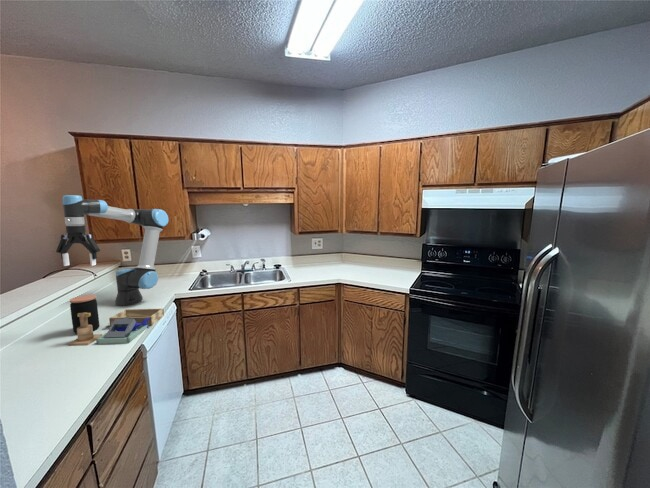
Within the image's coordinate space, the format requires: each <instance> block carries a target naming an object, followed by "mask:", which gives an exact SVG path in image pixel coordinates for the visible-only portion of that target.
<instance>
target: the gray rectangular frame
mask: <svg viewBox="0 0 650 488" xmlns="http://www.w3.org/2000/svg"><path fill="white" fill-rule="evenodd" d="M135 323H136V321H135V320H134V319H130V318H129V317H125V318H124V319H115V320H114V322H113V324H112V325H111V327H110V326H109V328H108V331H107V332H106V333H107V334H106V333H105V334H106V336H105V338H128V337H129V335H130V333H131V331H132V329H133V327H134V325H135ZM117 327H127V328H126V330H125V331H115V330H116V329H117Z"/></svg>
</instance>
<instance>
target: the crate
mask: <svg viewBox="0 0 650 488" xmlns="http://www.w3.org/2000/svg"><path fill="white" fill-rule="evenodd" d="M164 310H165V309H164V308H137V309H136V308H135V309H134V308H133V309H132V308H131V309H130V308H129V309H125V308H124V310H121V311H120V312H118V313H117V314H114V315H113V316H110V317H109V328H110V327H111V325H112V324H113V322H114V320H115V319H124V318H125V317H129V318H130V319H134V320H135V321H136V323H140V324H141V323H142V322H143V321H144V320H145V319H146V318H149V320H148V321H147V325H148V327H153V325H155V324H156V323H158V321H160V320H161V319H162V318H164V316H165V311H164Z"/></svg>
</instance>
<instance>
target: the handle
mask: <svg viewBox="0 0 650 488" xmlns="http://www.w3.org/2000/svg"><path fill="white" fill-rule="evenodd" d="M77 315H78V317H79V318H80V327H78V328H77V334H76V335H77V338H76V339H74V340H72V341H70V342H69V343H68V346H89V345H90V344H92V343H94V342H95V341H96V339H97V338H99V337H101V336H102V335H103V334H102V333H101V334H99V333H98V334H94V331H93V327H92V325H88V319H87V317H89V316H91V313H87V312H83V313H78V314H77Z"/></svg>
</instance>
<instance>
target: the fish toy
mask: <svg viewBox="0 0 650 488" xmlns="http://www.w3.org/2000/svg"><path fill="white" fill-rule="evenodd" d="M148 320H149V318H146V319H145V320H144V321H143V322H142V323H141V324H140V323H135V325H134V327H133V329H132V331H134V330H138V329H137V327H139V326H140V325H142V326H146V325H147V321H148ZM126 328H127V327H117V329H116V331H125V330H126ZM147 329H150V326H147Z"/></svg>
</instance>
